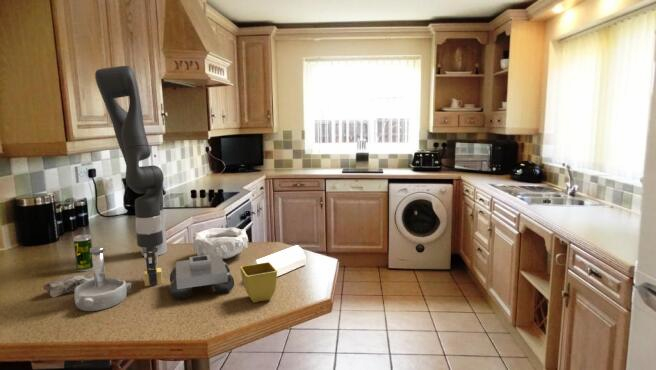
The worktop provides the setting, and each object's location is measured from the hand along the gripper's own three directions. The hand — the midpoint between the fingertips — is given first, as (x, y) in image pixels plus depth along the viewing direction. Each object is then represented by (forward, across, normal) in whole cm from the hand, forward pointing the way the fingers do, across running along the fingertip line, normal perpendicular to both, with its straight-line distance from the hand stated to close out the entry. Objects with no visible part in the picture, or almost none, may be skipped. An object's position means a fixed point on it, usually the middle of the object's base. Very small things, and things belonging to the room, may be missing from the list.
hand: (153, 281), depth 131 cm
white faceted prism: (+1, +6, +39) cm, 40 cm away
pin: (-4, +9, -13) cm, 17 cm away
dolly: (0, +11, +14) cm, 18 cm away
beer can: (+1, -23, -23) cm, 32 cm away
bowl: (+1, -17, +23) cm, 29 cm away
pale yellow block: (0, 0, 0) cm, 0 cm away
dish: (+1, +9, -13) cm, 16 cm away
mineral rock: (+1, -4, -23) cm, 23 cm away
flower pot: (+1, +25, +29) cm, 38 cm away
